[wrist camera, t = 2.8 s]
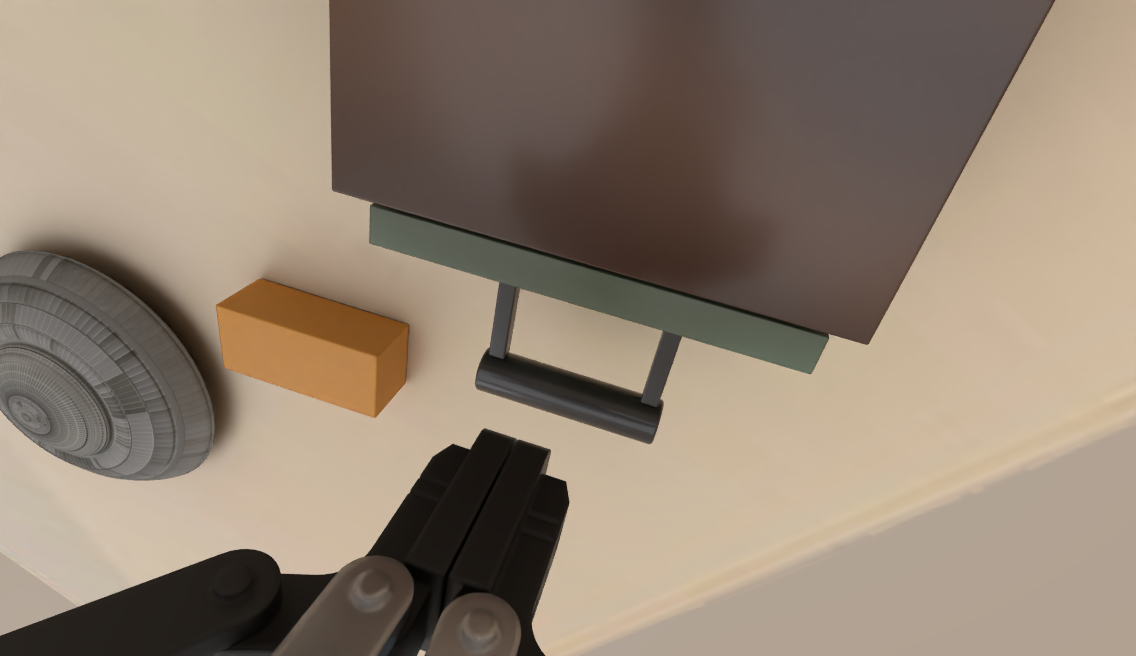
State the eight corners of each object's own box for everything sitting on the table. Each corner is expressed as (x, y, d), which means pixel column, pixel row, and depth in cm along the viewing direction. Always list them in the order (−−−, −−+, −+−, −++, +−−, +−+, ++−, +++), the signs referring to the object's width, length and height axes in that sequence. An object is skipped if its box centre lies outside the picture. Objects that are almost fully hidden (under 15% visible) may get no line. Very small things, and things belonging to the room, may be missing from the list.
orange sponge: (264, 337, 32) (223, 368, 29) (259, 277, 30) (214, 304, 28) (405, 383, 31) (375, 419, 28) (409, 324, 29) (377, 356, 27)
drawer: (740, 391, 25) (738, 522, 19) (453, 303, 27) (365, 399, 21) (998, -211, 15) (1170, -344, 9) (516, -297, 17) (382, -461, 11)
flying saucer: (218, 286, 31) (125, 339, 26) (243, 491, 39) (175, 559, 34) (-30, 207, 33) (-158, 244, 28) (42, 419, 41) (-49, 475, 36)
